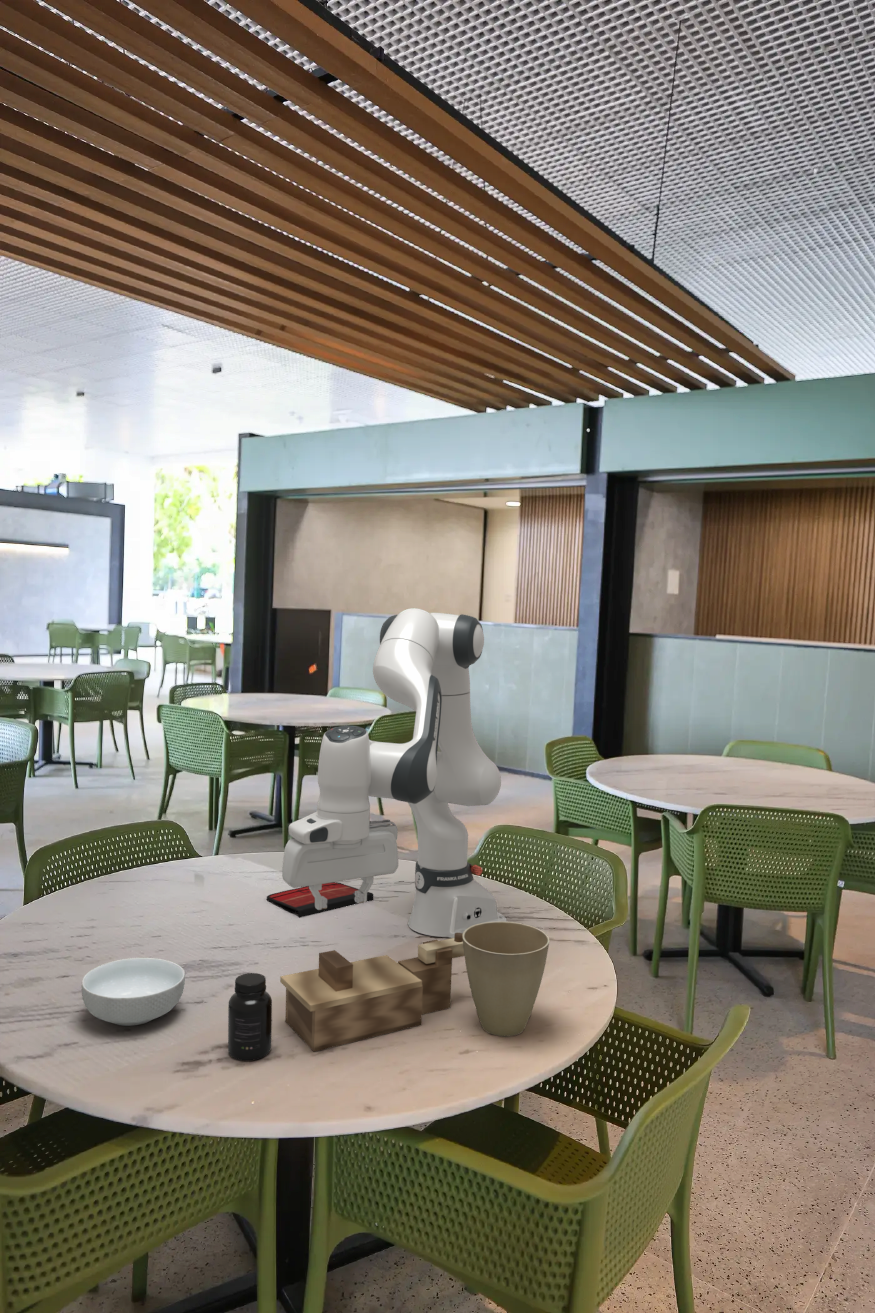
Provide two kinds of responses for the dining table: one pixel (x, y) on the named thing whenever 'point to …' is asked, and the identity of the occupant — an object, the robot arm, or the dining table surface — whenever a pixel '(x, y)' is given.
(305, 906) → the binder
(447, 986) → the open wooden box
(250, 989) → the supplement bottle
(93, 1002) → the cereal bowl
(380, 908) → the dining table surface
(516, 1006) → the plant pot
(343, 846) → the robot arm
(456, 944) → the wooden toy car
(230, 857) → the dining table surface
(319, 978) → the lid
